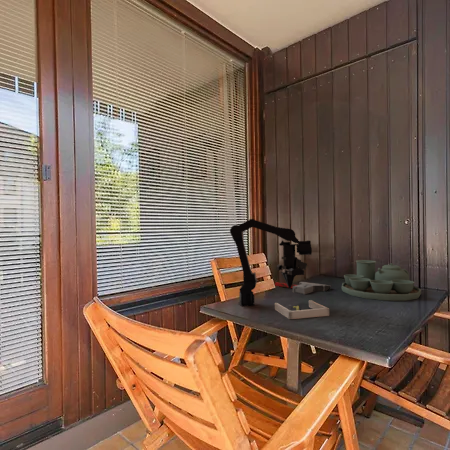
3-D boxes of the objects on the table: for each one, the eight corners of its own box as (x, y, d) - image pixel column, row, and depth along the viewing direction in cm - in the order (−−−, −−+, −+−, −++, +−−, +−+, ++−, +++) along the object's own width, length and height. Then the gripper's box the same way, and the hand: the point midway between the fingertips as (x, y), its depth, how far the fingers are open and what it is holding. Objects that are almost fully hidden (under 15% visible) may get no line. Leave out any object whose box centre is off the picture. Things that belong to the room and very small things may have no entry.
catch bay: (289, 319, 126) (289, 311, 126) (274, 309, 141) (274, 303, 141) (329, 315, 130) (329, 308, 130) (311, 306, 145) (311, 300, 145)
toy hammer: (288, 277, 205) (331, 283, 185) (288, 283, 205) (331, 289, 185) (267, 283, 188) (312, 289, 167) (267, 289, 188) (312, 296, 167)
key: (298, 309, 142) (298, 305, 142) (307, 317, 129) (307, 312, 129) (283, 310, 141) (283, 305, 141) (290, 318, 129) (290, 313, 129)
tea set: (328, 292, 176) (327, 263, 176) (364, 283, 201) (363, 258, 201) (401, 306, 145) (401, 271, 145) (433, 293, 169) (433, 264, 169)
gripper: (314, 256, 140) (315, 290, 140) (295, 252, 158) (296, 283, 158) (292, 257, 137) (292, 291, 137) (275, 253, 155) (275, 284, 155)
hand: (289, 287), depth 147 cm, fingers closed
